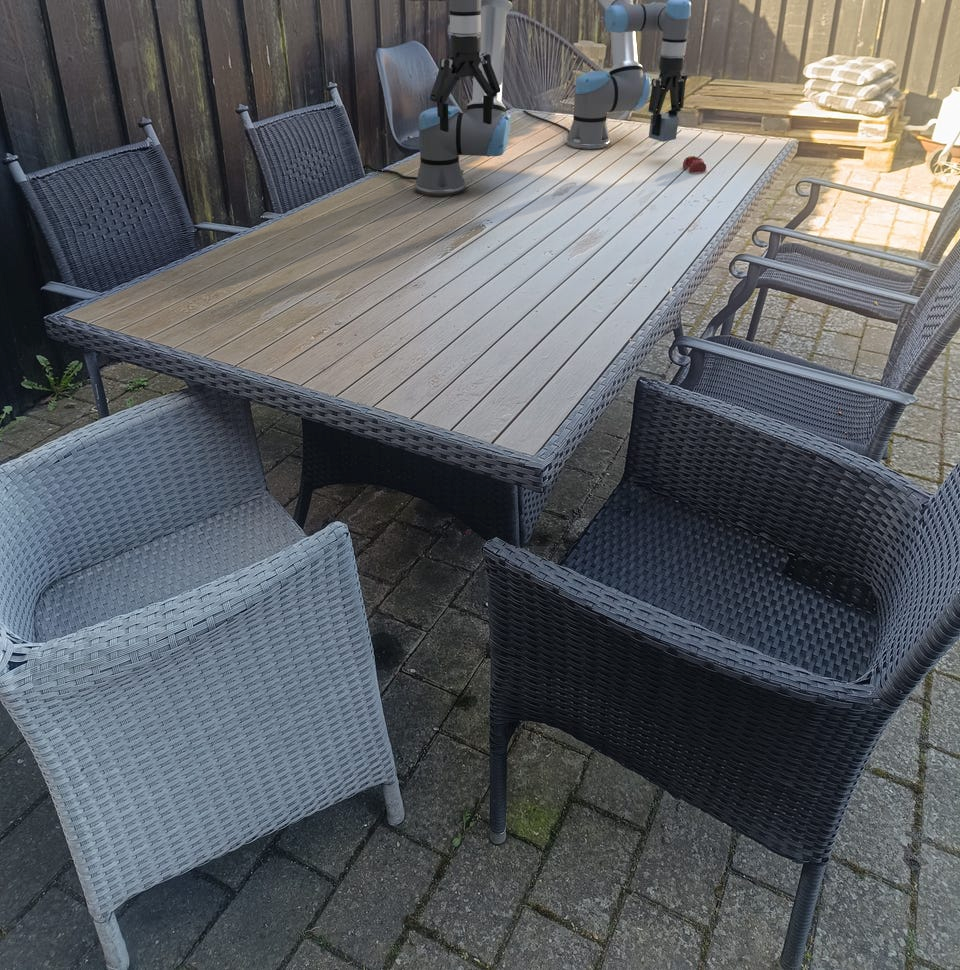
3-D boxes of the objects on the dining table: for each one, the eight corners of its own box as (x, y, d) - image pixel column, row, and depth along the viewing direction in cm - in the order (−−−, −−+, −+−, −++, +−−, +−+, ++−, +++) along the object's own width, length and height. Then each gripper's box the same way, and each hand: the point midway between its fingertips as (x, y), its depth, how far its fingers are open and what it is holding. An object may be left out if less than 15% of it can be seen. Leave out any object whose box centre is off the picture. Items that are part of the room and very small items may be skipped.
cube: (676, 139, 278) (679, 116, 274) (662, 142, 276) (665, 119, 271) (661, 135, 283) (664, 112, 279) (648, 137, 280) (651, 115, 276)
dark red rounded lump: (697, 152, 277) (708, 159, 271) (696, 165, 280) (707, 172, 273) (682, 154, 276) (692, 161, 270) (680, 167, 279) (691, 174, 272)
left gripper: (496, 28, 213) (496, 117, 225) (413, 37, 201) (417, 131, 213) (515, 31, 208) (513, 122, 220) (431, 40, 196) (434, 136, 208)
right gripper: (685, 51, 271) (675, 127, 285) (641, 57, 263) (633, 135, 276) (702, 54, 267) (691, 131, 280) (659, 61, 258) (649, 140, 271)
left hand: (466, 127), depth 217 cm, fingers open, 13 cm apart
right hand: (662, 133), depth 278 cm, fingers closed on cube, 6 cm apart
